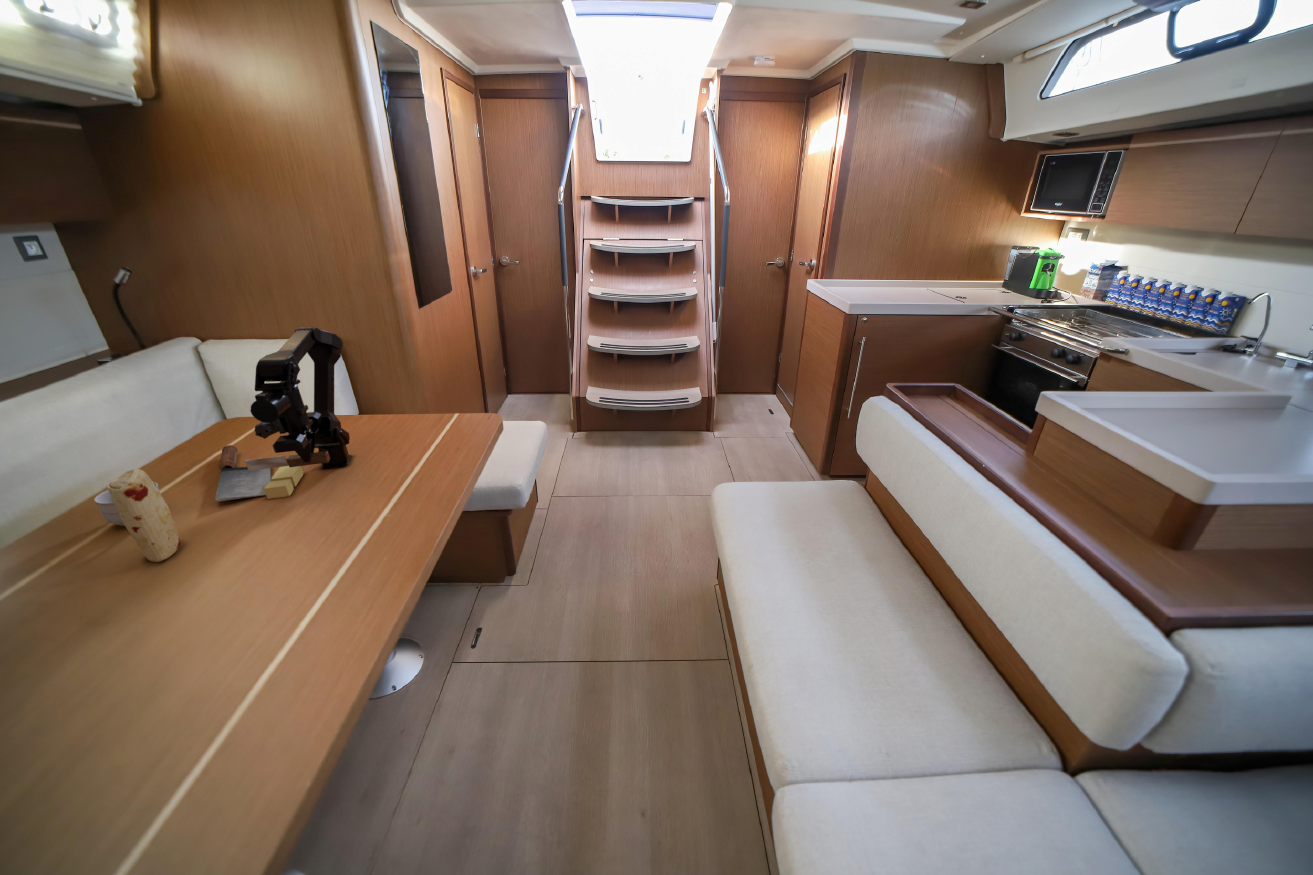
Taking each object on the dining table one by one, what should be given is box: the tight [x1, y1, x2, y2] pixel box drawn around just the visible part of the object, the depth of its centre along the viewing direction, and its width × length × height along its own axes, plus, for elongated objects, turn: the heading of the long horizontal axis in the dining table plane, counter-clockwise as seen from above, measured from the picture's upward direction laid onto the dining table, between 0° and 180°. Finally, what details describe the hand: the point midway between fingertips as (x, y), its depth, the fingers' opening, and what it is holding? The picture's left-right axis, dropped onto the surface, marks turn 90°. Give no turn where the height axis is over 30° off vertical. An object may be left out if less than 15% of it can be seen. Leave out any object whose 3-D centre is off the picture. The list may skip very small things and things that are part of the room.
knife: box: [244, 451, 330, 471], centre depth 132 cm, size 18×2×3 cm, turn 107°
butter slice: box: [264, 479, 295, 500], centre depth 132 cm, size 5×4×3 cm
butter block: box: [270, 466, 304, 488], centre depth 138 cm, size 5×7×3 cm
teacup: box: [93, 481, 163, 527], centre depth 119 cm, size 14×11×8 cm
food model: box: [106, 468, 181, 563], centre depth 106 cm, size 10×7×20 cm
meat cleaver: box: [214, 444, 272, 502], centre depth 141 cm, size 34×11×4 cm, turn 36°
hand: (309, 459), depth 133 cm, fingers closed on knife, 2 cm apart
